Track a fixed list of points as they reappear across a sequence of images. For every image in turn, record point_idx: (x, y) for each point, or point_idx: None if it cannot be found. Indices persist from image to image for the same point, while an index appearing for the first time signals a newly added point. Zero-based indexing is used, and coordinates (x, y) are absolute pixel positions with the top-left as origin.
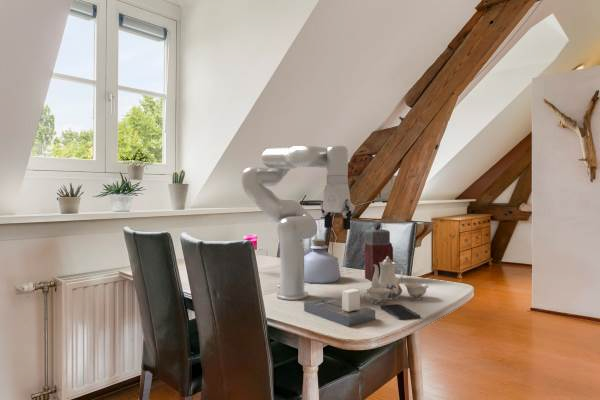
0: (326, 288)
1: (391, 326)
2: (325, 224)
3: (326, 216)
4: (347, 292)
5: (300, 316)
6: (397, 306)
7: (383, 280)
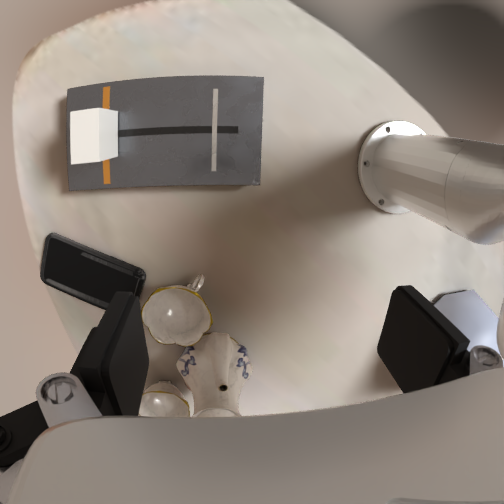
0: (386, 296)
1: (30, 181)
2: (413, 301)
3: (457, 366)
4: (74, 111)
5: (225, 43)
6: None
7: (209, 371)
